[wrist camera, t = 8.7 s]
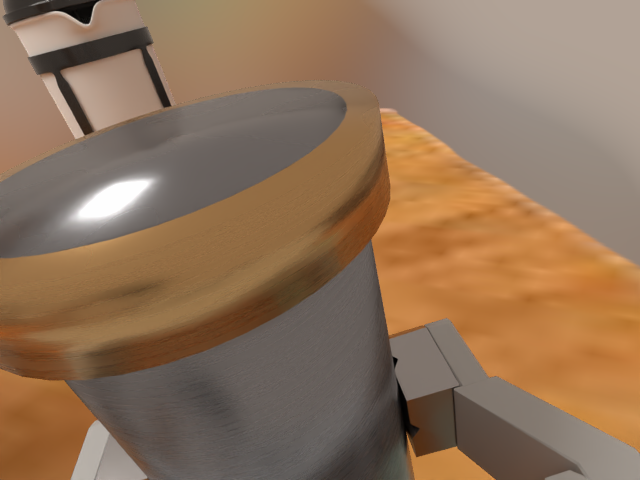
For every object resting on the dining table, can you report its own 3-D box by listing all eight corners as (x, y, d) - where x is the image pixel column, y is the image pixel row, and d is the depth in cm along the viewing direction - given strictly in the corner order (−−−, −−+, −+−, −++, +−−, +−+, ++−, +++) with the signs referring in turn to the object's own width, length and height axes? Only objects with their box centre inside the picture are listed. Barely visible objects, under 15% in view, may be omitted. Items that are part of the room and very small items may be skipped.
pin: (282, 743, 10) (-297, 375, 3) (269, 515, 14) (42, 140, 7) (482, 678, 10) (473, 160, 3) (409, 473, 15) (329, 62, 7)
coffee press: (245, 177, 58) (156, -80, 43) (182, 240, 46) (25, -87, 30) (152, 184, 65) (46, -37, 49) (76, 240, 53) (-99, -30, 37)
